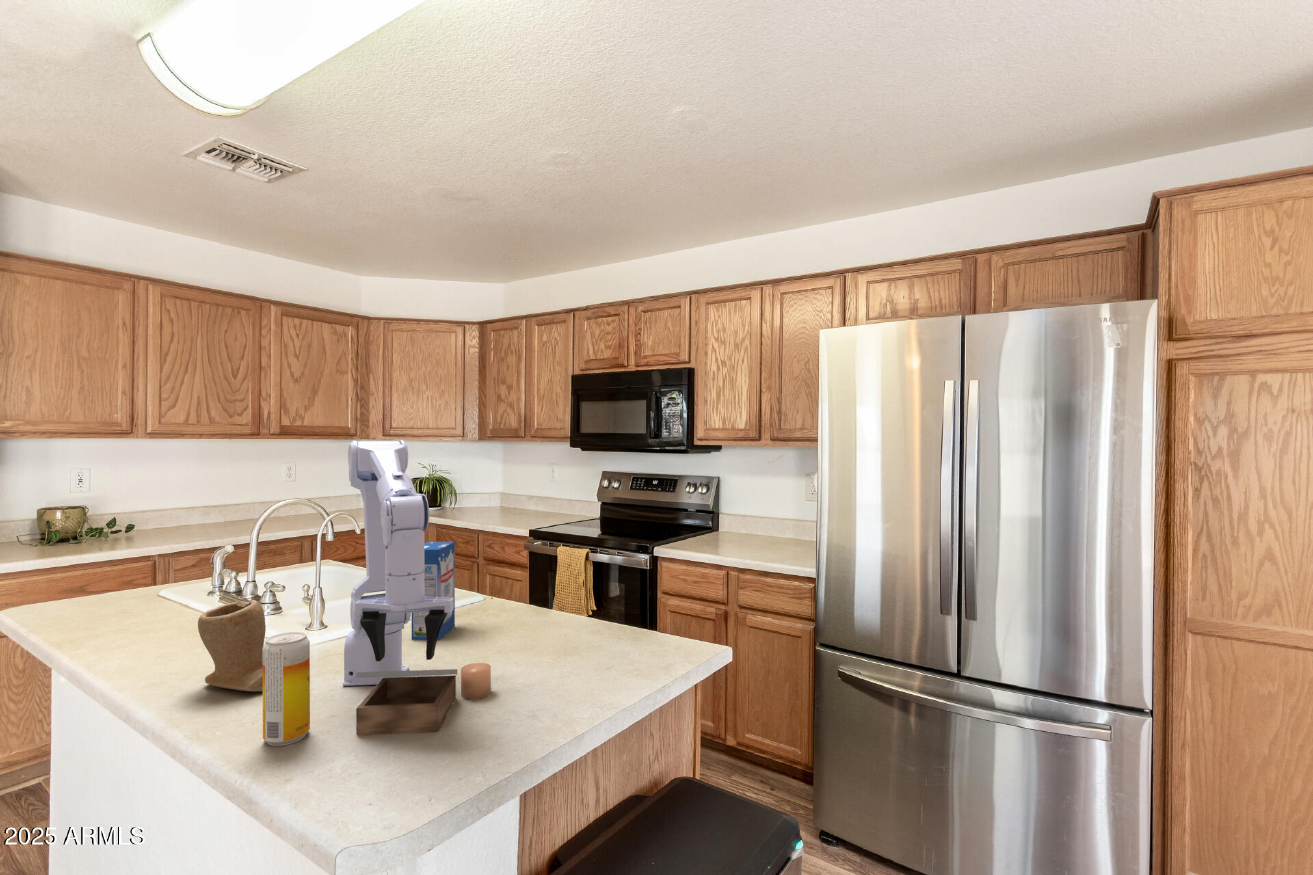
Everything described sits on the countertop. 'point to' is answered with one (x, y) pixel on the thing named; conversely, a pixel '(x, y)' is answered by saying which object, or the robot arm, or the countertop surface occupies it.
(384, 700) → the box
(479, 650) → the countertop surface
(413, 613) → the milk carton
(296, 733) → the beer can
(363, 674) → the lid
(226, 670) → the stone cup
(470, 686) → the tan rounded cylinder
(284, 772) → the countertop surface
